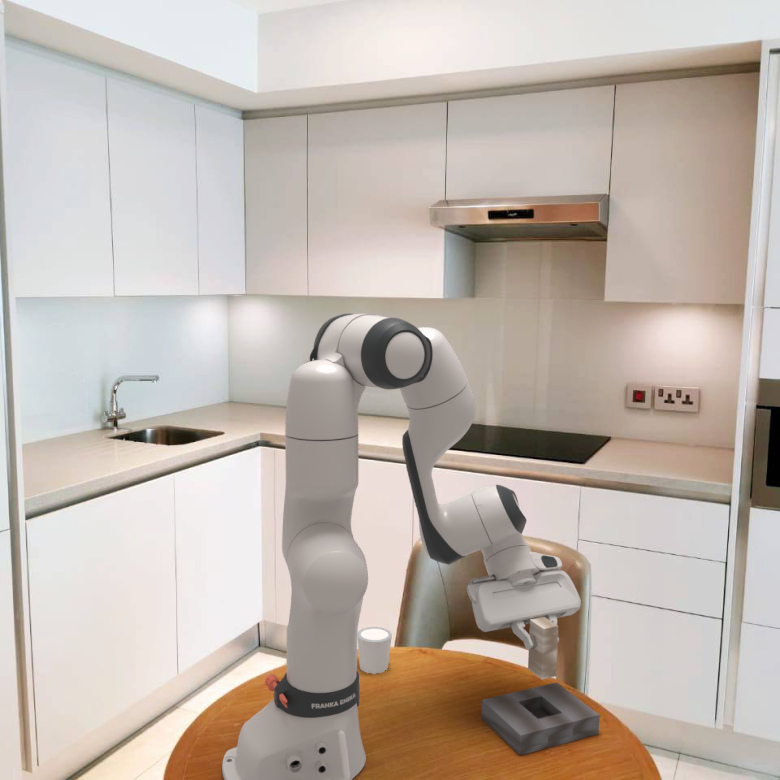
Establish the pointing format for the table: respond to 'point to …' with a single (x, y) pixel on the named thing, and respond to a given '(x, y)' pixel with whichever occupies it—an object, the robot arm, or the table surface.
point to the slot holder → (539, 718)
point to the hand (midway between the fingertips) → (543, 645)
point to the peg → (543, 648)
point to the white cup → (374, 649)
